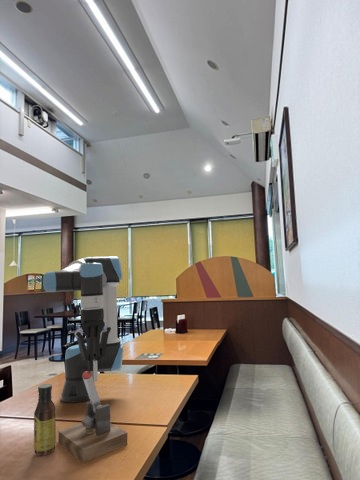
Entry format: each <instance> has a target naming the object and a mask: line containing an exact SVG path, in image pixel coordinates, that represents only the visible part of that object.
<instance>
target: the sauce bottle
mask: <svg viewBox="0 0 360 480" xmlns="http://www.w3.org/2000/svg"><path fill="white" fill-rule="evenodd" d="M52 390H53V385H52V384H51V383H43V384H41V385H39V386H38V388H37V392H38V401H37V404H36V407H35V410H34V414H33V450H34V454H35V456H37V457H38V456H40V457H43V456H47V455H51V454H52V453H53V452H54V451H55V450H56V443H57V442H56V437H57V436H56V433H57V432H56V431H57V430H56V426H57V425H56V423H57V422H56V419H57V418H56V405H55V403H54V401H53V400H52V398H53V397H52Z"/></svg>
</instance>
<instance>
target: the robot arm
mask: <svg viewBox="0 0 360 480" xmlns="http://www.w3.org/2000/svg"><path fill="white" fill-rule="evenodd" d="M123 278H124V276H123V271H122V263H121V260H120V258H119V256H114V255H113V256H111V255H106V256H86V257H82V258H79V259H75V260H73V261H72V262H70V263H69V264H68V265H67V266H66V267H64V268H62V269H60V270H57V271H54V270H52V271H47V272H45V273H44V275H43V279H42V284H43V285H42V286H43V289H44V291H45V292H47V293H59V292H60V293H61V292H80V308H81V310H80V319H81V324H80V327H79V329H78V330H76V331H74V332H73V335H74V338H76V341H77V344H75V345H71V346H70V347H68V348H67V349H66V350H65V353H64V354H65V358H64V362H65V363H64V365H65V366H64V374H65V375H64V378H65V379H64V384H63V386H62V390H61V393H60V401H61V402H64V403H73V404H74V403H82V402H87V401H90V398H89V395H88V392H87V389H86V386H85V383H84V380H83V373H84V372H85V371H90V372H91V376H92V377H93V380H94V383H96V382H98V381H99V380H98V379H99V377H98V373H100V372H101V373H102V372H111V373H112V372H113V371H114V372H115V371H116V372H117V371H120V369H121V368H122V364H123V358H124V347H125V345H124V344H123V343H121V342H122V341H121V339H120V338H119V337H118V298H117V297H118V294H117V289H118V288H117V287H118V286H119V284H120V283H121V282H120V281H121V280H123ZM84 335H85V339H84ZM85 340H86V342H85Z"/></svg>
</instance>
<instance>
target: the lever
mask: <svg viewBox="0 0 360 480" xmlns="http://www.w3.org/2000/svg"><path fill="white" fill-rule="evenodd" d="M83 380H84V383H85V386H86V389H87V392H88V395H89V398H90V399H89V402H90V401H91V411H92V412H94V413H95V408H97V407H100V406H103V405H102V403H101V400H100V396H99V393H98V390H97V388H96V384H95V382H94V380H93V377H92V376H91V372H90V371H85V372H84V373H83ZM80 421H81V422H80V423H82V425H83V426H84V427H85V428H87V429H88V430H89V429H90V428H92V427H93V426H94V425H96V415H95V414H93V413H91V414H89V415H88V416H87V417H86V416H85V417H84V418H82V419H81V420H80Z"/></svg>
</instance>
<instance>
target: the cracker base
mask: <svg viewBox="0 0 360 480" xmlns="http://www.w3.org/2000/svg"><path fill="white" fill-rule="evenodd" d="M91 413H93V414H95V415H96V425H94V426H93V427H92V428H90V429H89V430H88V429H87V428H85V427H84V426H83V425H82V422H80V423H79V424H75V425H72V426H69V427H67V428H64V429H59V430H58V433H57V434H58V435H57V436H58V438H57V440H58V443H59V445H61V446H62V447H63V448H64V449H66V450H67V451H68V452H69V453H71V454H72V455H73V456H74V457H75V458H77V459H78V460H79V461H80V462H82V463H83V464H85V463H87V462H89V461H92V460H94V459H96V458H98V457H101V456H103V455H106V454H108V453H110V452H112V451H115V450H117V449H119V448H122V447H124V446H126V445H128V443H129V442H128V432H127V431H125V430H123V429H122V428H120V427H118V426H116V425H115V424H112V423H111V405H110V404H103V405H102V406H100V407H97V408H95V413H94V412H92V411H91V401H90V400H89V401H86V402H85V417H87V416H88V415H89V414H91Z"/></svg>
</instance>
